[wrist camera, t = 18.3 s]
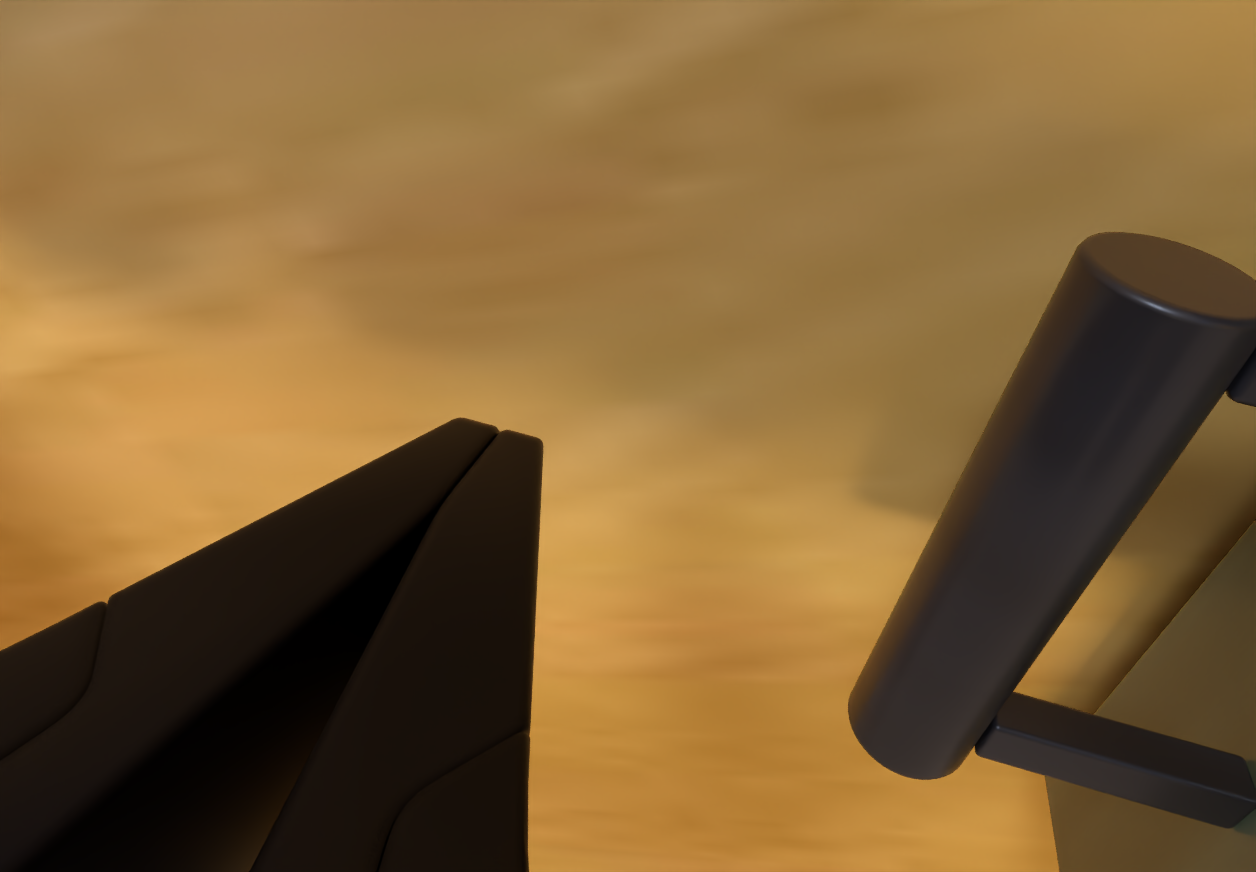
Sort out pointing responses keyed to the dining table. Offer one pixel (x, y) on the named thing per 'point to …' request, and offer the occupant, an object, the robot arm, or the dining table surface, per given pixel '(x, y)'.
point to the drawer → (1089, 576)
